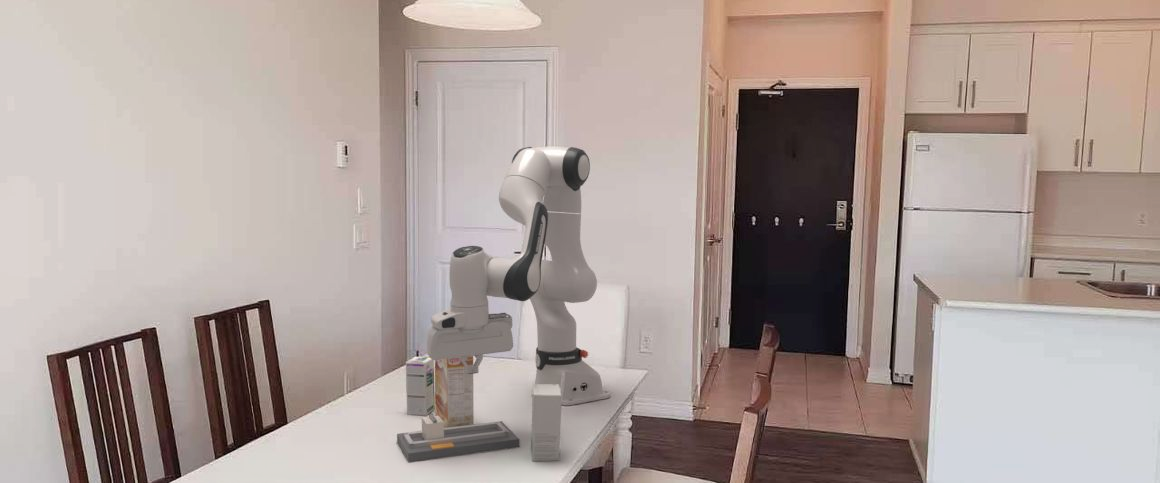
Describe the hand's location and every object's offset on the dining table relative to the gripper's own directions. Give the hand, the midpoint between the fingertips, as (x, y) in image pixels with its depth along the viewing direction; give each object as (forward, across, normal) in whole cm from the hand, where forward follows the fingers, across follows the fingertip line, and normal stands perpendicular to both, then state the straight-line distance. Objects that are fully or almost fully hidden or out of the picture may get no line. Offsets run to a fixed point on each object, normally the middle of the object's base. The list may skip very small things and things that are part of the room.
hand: (471, 373), depth 187 cm
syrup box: (+17, +7, -27) cm, 33 cm away
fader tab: (+14, +10, 0) cm, 17 cm away
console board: (+17, +4, +1) cm, 17 cm away
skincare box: (+17, -13, +15) cm, 26 cm away
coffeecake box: (+17, +1, -15) cm, 23 cm away
